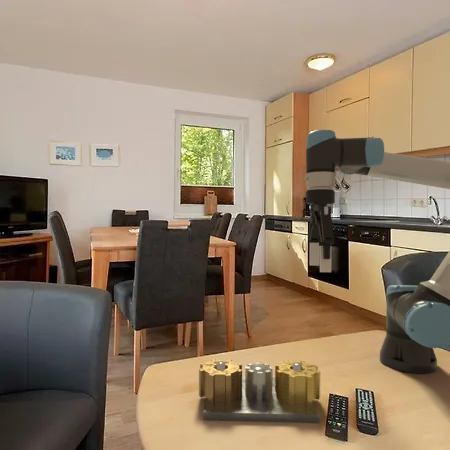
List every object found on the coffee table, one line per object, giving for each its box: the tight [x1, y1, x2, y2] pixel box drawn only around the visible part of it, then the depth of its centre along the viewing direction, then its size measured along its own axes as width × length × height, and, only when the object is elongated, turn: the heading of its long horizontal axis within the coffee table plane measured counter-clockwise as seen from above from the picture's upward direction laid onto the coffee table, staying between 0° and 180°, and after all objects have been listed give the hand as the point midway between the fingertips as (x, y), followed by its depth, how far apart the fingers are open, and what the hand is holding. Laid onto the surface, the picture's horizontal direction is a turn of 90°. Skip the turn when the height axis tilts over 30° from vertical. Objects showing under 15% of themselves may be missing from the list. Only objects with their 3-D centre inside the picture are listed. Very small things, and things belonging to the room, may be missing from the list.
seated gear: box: [198, 358, 243, 403], centre depth 87 cm, size 10×10×6 cm
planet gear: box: [274, 359, 321, 405], centre depth 86 cm, size 10×10×6 cm
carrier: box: [202, 361, 321, 424], centre depth 86 cm, size 24×18×9 cm
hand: (319, 268), depth 100 cm, fingers open, 13 cm apart
